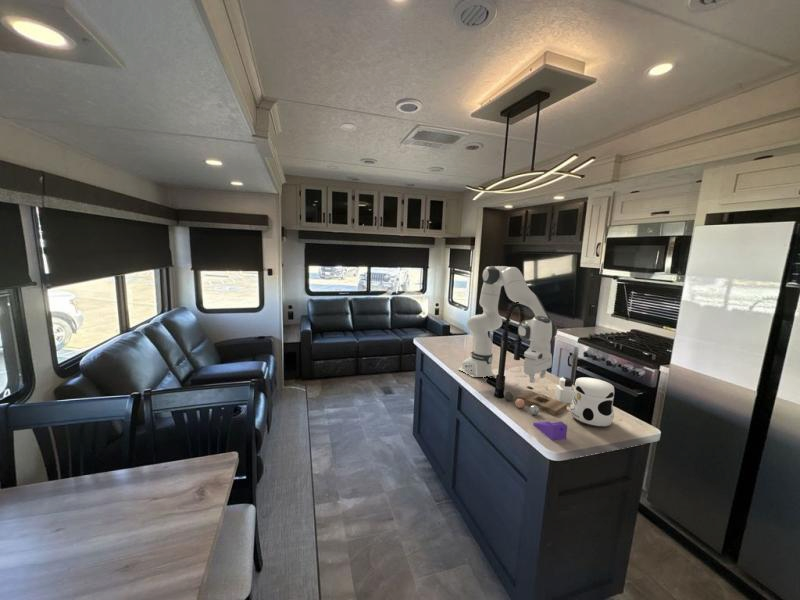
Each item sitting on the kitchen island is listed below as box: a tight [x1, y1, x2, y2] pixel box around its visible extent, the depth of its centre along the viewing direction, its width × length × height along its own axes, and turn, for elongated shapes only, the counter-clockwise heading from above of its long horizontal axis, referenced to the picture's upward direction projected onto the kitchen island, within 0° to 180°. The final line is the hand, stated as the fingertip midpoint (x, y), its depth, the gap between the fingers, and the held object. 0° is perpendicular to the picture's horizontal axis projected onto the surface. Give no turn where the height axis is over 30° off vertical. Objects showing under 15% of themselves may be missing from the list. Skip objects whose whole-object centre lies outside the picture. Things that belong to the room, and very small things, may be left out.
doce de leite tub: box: [569, 377, 615, 428], centre depth 147 cm, size 17×17×18 cm
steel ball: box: [529, 405, 540, 416], centre depth 152 cm, size 4×4×4 cm
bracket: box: [533, 420, 568, 441], centre depth 137 cm, size 12×7×7 cm, turn 14°
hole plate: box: [516, 389, 568, 416], centre depth 163 cm, size 20×12×2 cm, turn 40°
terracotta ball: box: [514, 398, 526, 409], centre depth 159 cm, size 4×4×4 cm
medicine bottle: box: [554, 376, 574, 404], centre depth 168 cm, size 7×7×12 cm
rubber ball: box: [504, 391, 514, 401], centre depth 167 cm, size 4×4×4 cm
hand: (537, 379), depth 150 cm, fingers open, 8 cm apart
